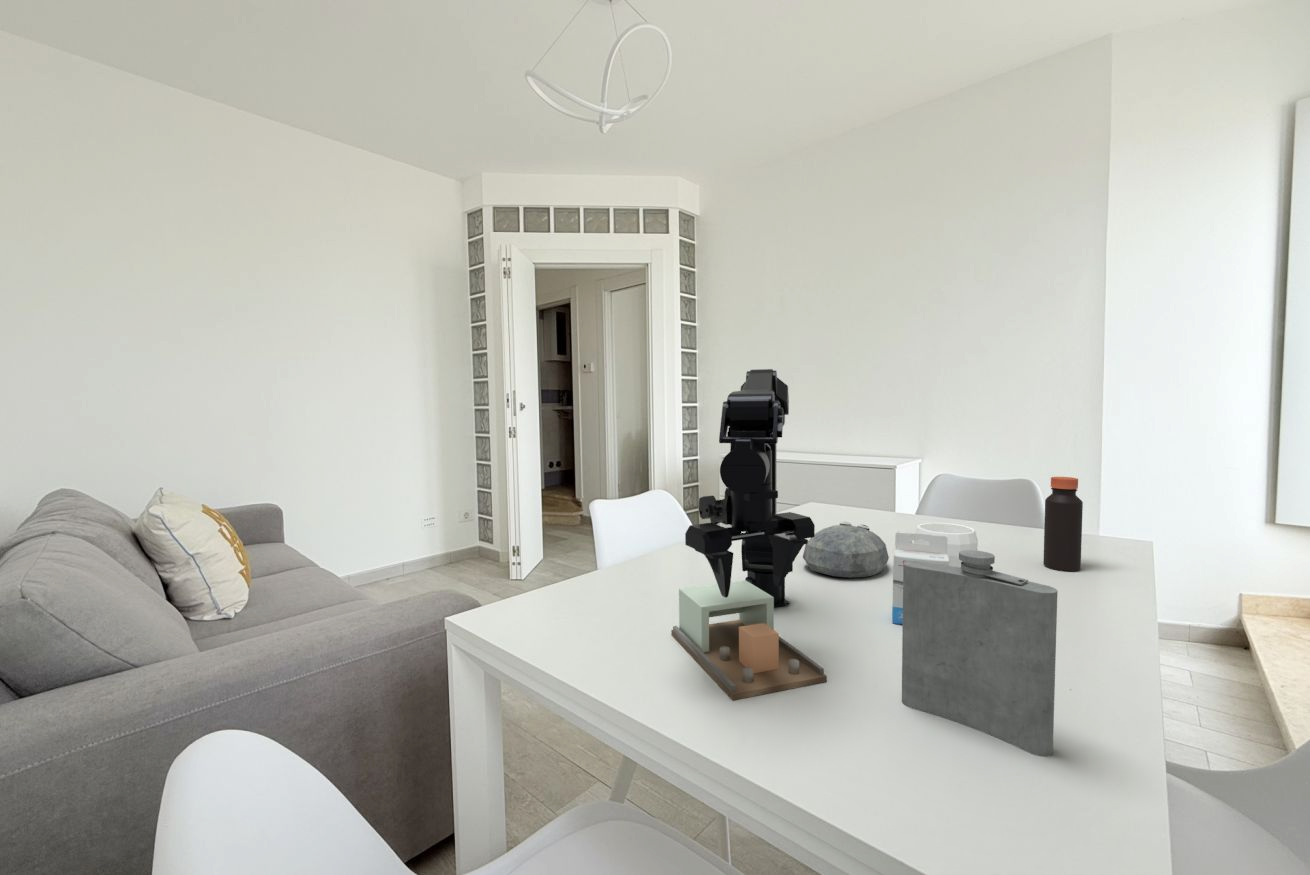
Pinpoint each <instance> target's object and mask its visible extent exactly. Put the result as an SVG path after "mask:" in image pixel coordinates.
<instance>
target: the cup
mask: <svg viewBox="0 0 1310 875" xmlns="http://www.w3.org/2000/svg"><path fill="white" fill-rule="evenodd" d="M914 533H918V534H930V535H940V536H946V537H947V554H948V556H949V566H954V567H960V568H961V562H963V561H961V560H959V552H960V551H964V550H975V551H978V543H979V542H978V541H979V540H978V537H977V533H976V530H975V528H973V527H970V526H967V525H962V524H957V523H949V522H924V523H920V524H918V525H917V526H916V529H915V532H914ZM913 541H914V542H913V543H915V544H926V545H929V544H930V542H929V541H924V540H923V539H919V540H913Z"/></svg>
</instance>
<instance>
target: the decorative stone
mask: <svg viewBox="0 0 1310 875" xmlns="http://www.w3.org/2000/svg"><path fill="white" fill-rule="evenodd" d="M804 545H805V546H804V549H803V555H802V559H803V560H804V561H805V563H806V564H807V566H808V567H809V569H810V571H813V572H816V573H819V574H823V575H827V576H832V577H839V578H865V577H871V576H875V575H876V574H879V573H881V572H882V571H883V569H884V568H885V567H886V565H887V564H888V561H889V558H890V556H889V553H888V549H887V544H886V543H885V542H884V540H882V538H881V537H880V536H879V535H878V534H876V533H874V532H873V531H871V530H870V527H869V526H868V525H865V524H858V525H857V526H856V525H852V523H851V522H849V521H842V522H839V524H835V525H831V526H828V527H825V528H823V529H821V530H819V531H817V532H815V536H814V537H812V538H809V539H808V543H807V544H804Z"/></svg>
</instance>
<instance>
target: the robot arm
mask: <svg viewBox="0 0 1310 875" xmlns="http://www.w3.org/2000/svg"><path fill="white" fill-rule="evenodd" d="M745 374H746V376H745V381H744V382H743V384H742V385H741V386H740V390H736V391H735V390H734V391H732V392H731V393H729V394H728V395H727V400H726V401H724V400H723V402H722V409H721V418H720V428H719V436H718V437H719V438H718V441H719V442H718V443H719V444H730V451H729V452H728V453H727V454H725V456H724V457H723V459H722V461H721V463H720V467H719V474H720V479H721V481H722V483H723V484H724V486H725V487H726V488H725V490H724V498H723V499H716V497H715V496H714V495H705V496H702V497H701V496H700V497H698V498H699V499H698V512H699V517H700V518H701V519H702V520H707V519H709V522H706V523H699V524H697V523H696V524H691V525H689V527H688V528H687V529H686V532H685V538H684V539H685V546H686V547H689V548H691V549H694V551H696V552H697V553H700V554H702V555H704V558H705V559H706V560H707V562H708V564H709V565H710V568H711V570H712V573H713V576H714V578H715V581H716V584H718V587H719V589H720V592H721V595H722V596H723V597H728V595H729V590H730V583H731V582H732V572H733V571H732V569H733V562H734V560H733V559H734V552H732V551H731V550H730V551H729V549H730V548H731V547H732V545H733V542H737V541H741V548H740V549H741V550H740V551H741V570H742V572H747V576H746V577H745V578H744V579H745V580H746V581H748V582H749V583H751V584H753V585H754V586H756V587H758V588H759V589H761V590H763V591H764V592H766V593H767V594H769V595H771V596H772V597H774V608H775V607H776V608H777V607H783V606H788V605H790V603H791V602H790V601H789V600H787V599H786V587H785V586H786V578H787V575H789V573H792V572H793V570H794V569H793V564H794V561H795V559H796V558H797V556H798V555H799V553H800V552H801V550H802V549H803V547H804V545H806V544H807V543H808V541H809V539H810V538H812V537H814V536H815V534H816V530H815V529H816V528H815V523H814V521H813V520H812V518H811V517H810V516H806V515H803V514H799V513H795V512H790V511H789V512H780V513H777V499H779V491H778V490H777V444H778V442H779V438H783V427H784V425H785V424H786V416H789V413H790V411H789V410H790V407H789V406H790V405H789V403H790V401H789V400H790V399H789V398H790V397H789V385H787V383H785V382H784V381H783V380H781V378H779V377H778V374H777V370H774V369H772V368H767V369H766V368H765V369H759V368H758V369H750V370H749V371H746V373H745ZM718 524H723V525H727V526H728V525H730V527H729V526H728V527H724V526H720V525H718Z"/></svg>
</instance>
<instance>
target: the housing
mask: <svg viewBox="0 0 1310 875" xmlns="http://www.w3.org/2000/svg"><path fill="white" fill-rule="evenodd" d="M774 610H775V607H774V597H772V596H771V595H769V594H767V593H766V592H764V591H763V590H761V589H759V588H758V587H756V586H754V585H753V584H751V583H749V582H748V581H746V580H738V581H731V583H730V590H729V595H728V597H723V596H722V595H721V592H720V589H719V587H718V584H717V583H714V584H705V585H698V586H691V587H690V586H689V587H681V588H679V589H678V618H679V619H678V622H679V623H678V628H679V629H680V630H681V631H682V632H683V633H684V634H685V635H686V636H687V637H688V638H689V639H690V640H691V641H692V642H693V643H694V644H695V645H696V646H697V647H698V648H699V649H700V650H701V651H702V652H703V653H704V652H709V624H710V618H713V617H721V616H729V615H736V614H739V620H740V622H741V623H743V624H744V625H745V626H747V625H754V624H760V623H765V624H766V625H767V626H769V627H770V628H772V629H773V630H775V626H774V625H775V620H774V619H775V614H774V613H775V611H774Z"/></svg>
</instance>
